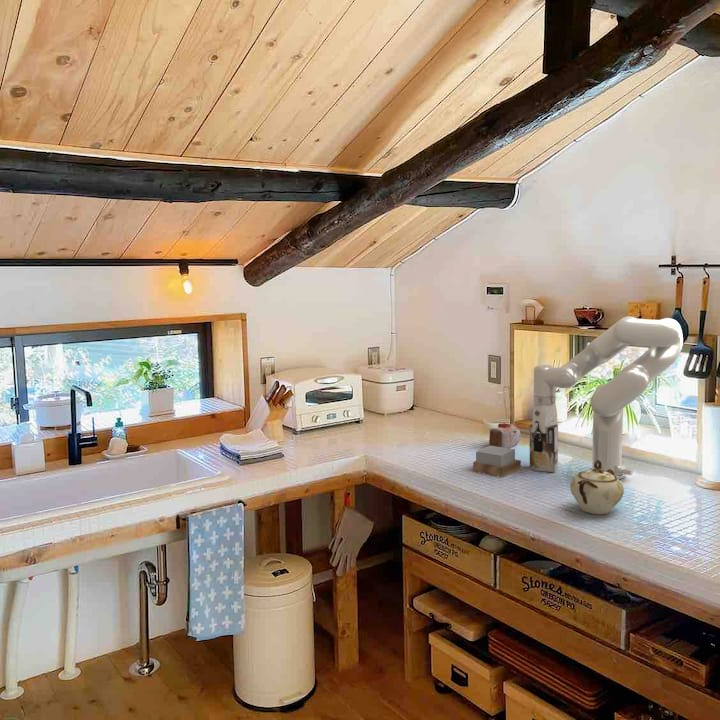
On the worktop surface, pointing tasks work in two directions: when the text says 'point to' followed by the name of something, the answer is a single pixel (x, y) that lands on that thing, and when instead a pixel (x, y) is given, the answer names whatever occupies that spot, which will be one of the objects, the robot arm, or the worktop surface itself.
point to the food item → (504, 436)
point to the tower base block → (498, 468)
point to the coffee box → (545, 451)
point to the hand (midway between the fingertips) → (543, 448)
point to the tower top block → (495, 456)
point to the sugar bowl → (597, 490)
